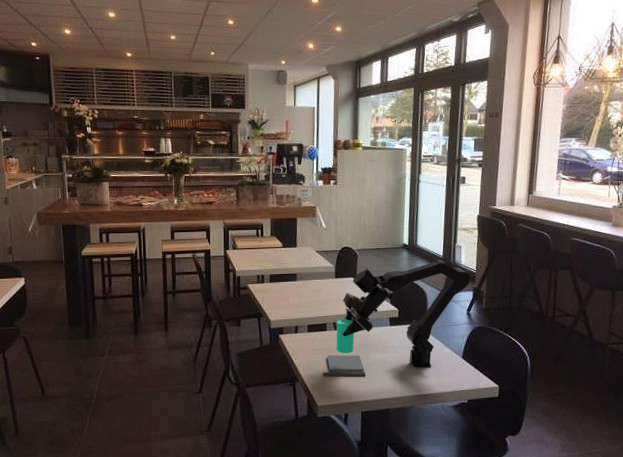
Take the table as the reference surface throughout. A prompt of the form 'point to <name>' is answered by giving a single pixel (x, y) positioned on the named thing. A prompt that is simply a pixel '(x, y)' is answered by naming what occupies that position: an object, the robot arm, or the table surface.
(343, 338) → the candle
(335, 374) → the dark grey bar
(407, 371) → the table surface
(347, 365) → the slate coaster
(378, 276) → the robot arm
